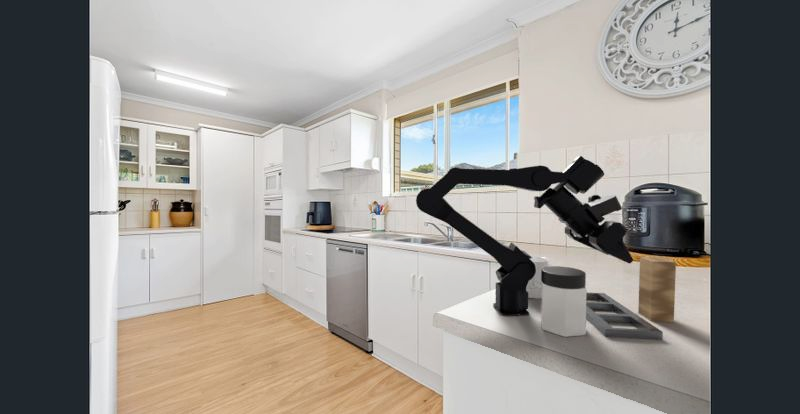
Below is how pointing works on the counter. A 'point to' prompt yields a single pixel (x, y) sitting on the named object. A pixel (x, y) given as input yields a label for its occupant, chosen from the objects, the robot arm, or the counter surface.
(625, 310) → the rail plate
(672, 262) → the oak block
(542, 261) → the white cup
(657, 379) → the counter surface
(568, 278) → the jar
